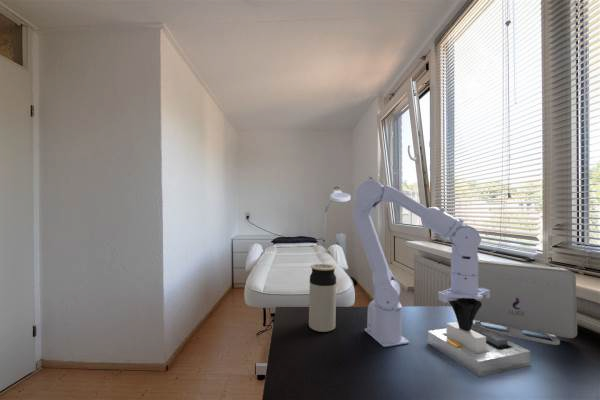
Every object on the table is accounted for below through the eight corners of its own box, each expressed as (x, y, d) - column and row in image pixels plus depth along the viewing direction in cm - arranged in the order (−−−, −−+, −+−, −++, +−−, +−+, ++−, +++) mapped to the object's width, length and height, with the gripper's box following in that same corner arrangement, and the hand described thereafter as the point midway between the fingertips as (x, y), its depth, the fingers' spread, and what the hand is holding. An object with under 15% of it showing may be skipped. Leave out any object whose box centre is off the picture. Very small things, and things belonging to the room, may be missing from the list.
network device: (464, 327, 77) (464, 261, 77) (461, 316, 84) (461, 257, 85) (582, 350, 65) (580, 272, 66) (566, 336, 72) (564, 266, 73)
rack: (427, 343, 66) (427, 324, 67) (473, 335, 71) (472, 318, 71) (479, 377, 53) (479, 353, 53) (530, 365, 58) (530, 344, 58)
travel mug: (336, 333, 71) (337, 269, 72) (308, 332, 71) (310, 268, 72) (333, 321, 79) (334, 263, 79) (308, 320, 79) (309, 262, 80)
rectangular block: (446, 344, 64) (446, 323, 65) (455, 343, 65) (455, 321, 65) (476, 363, 57) (476, 338, 57) (486, 361, 58) (485, 336, 58)
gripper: (456, 279, 56) (456, 340, 55) (502, 275, 60) (503, 333, 60) (431, 271, 63) (431, 326, 62) (474, 269, 67) (474, 320, 66)
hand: (464, 328), depth 61 cm, fingers closed
